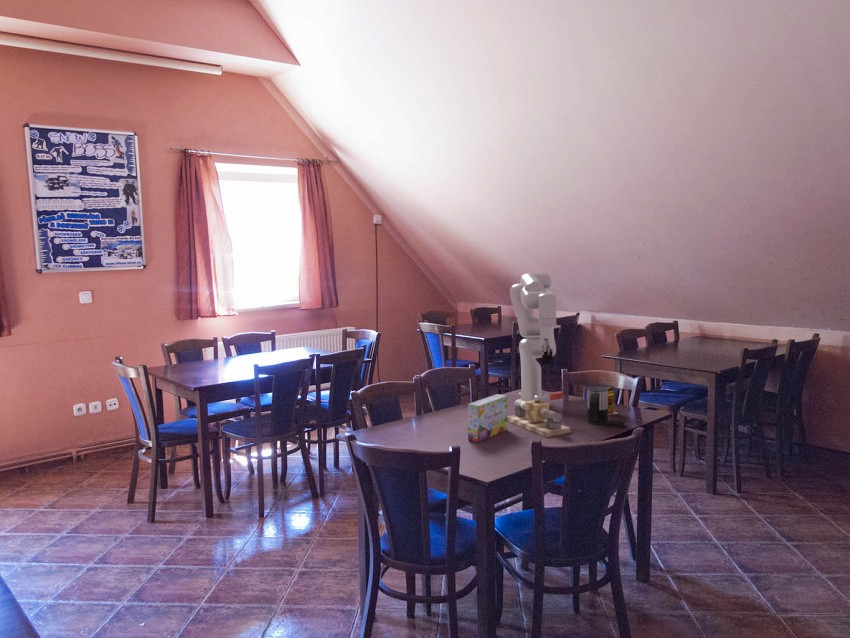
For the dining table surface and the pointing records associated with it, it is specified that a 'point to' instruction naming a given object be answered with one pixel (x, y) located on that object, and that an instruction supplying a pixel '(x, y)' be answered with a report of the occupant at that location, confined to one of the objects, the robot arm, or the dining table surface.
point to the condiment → (610, 400)
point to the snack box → (487, 417)
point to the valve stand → (538, 418)
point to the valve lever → (549, 396)
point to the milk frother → (599, 406)
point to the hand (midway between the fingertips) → (547, 361)
